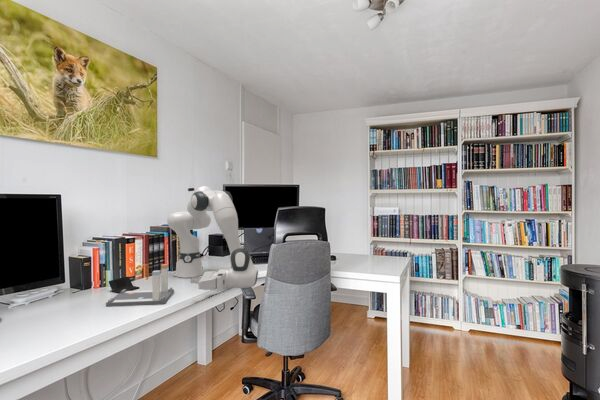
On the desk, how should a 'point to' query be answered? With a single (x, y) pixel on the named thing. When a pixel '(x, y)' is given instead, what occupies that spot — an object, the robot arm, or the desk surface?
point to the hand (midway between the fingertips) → (191, 280)
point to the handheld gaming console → (122, 285)
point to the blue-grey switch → (156, 284)
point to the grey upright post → (164, 277)
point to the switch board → (139, 298)
